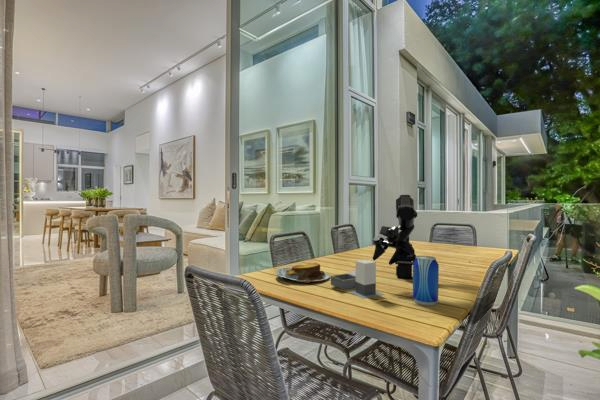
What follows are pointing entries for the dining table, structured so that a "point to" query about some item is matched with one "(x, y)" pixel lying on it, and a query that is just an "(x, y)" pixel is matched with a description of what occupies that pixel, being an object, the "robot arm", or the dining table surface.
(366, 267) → the box
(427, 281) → the beer can
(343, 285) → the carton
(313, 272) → the food on plate
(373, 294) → the rubber mat
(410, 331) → the dining table surface
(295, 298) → the dining table surface
